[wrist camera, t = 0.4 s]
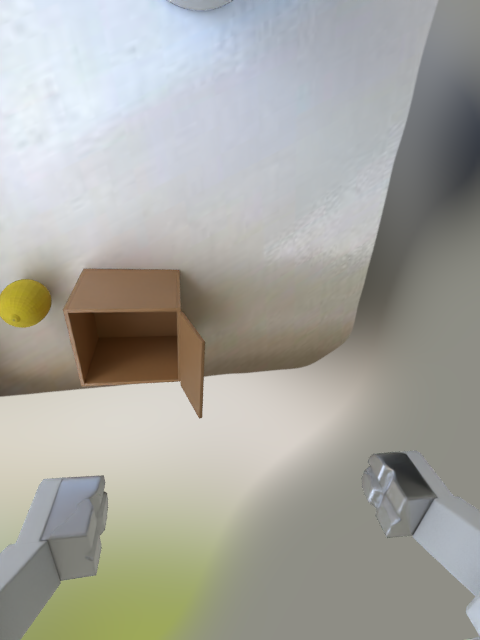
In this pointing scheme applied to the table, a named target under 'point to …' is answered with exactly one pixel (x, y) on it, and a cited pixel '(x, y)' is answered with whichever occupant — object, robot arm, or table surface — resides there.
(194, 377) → the flap
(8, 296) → the lemon
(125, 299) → the carton
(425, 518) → the robot arm
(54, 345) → the table surface
